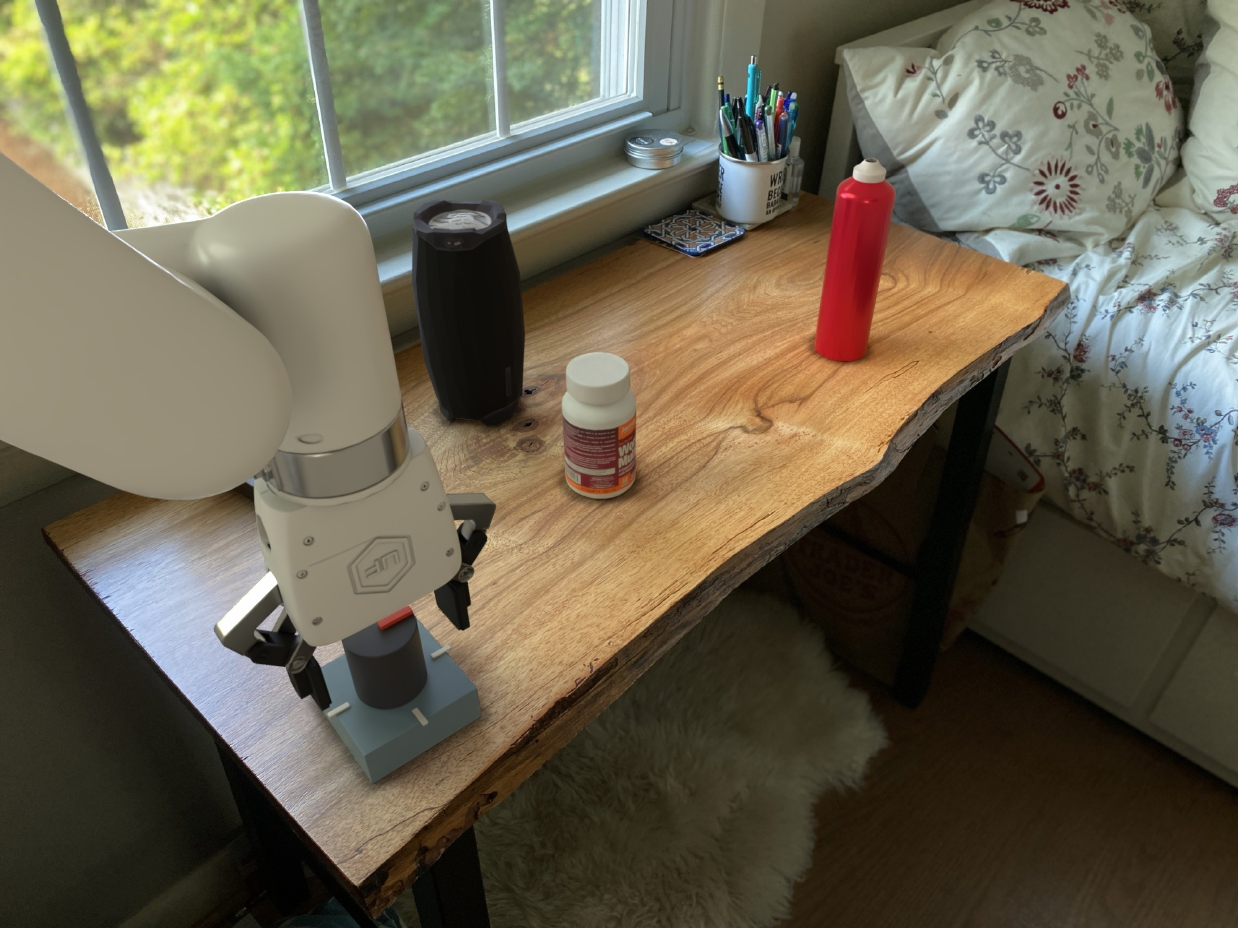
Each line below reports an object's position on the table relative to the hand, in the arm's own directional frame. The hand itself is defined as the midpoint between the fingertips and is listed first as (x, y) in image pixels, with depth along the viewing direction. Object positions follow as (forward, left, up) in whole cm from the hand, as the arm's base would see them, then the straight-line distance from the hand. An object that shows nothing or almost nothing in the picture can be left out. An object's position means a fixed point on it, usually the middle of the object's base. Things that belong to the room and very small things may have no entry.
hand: (387, 654), depth 59 cm
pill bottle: (+25, +10, -6) cm, 28 cm away
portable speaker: (+23, +26, -6) cm, 36 cm away
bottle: (+58, +11, -6) cm, 60 cm away
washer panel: (0, 0, -6) cm, 6 cm away
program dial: (0, 0, -2) cm, 2 cm away
